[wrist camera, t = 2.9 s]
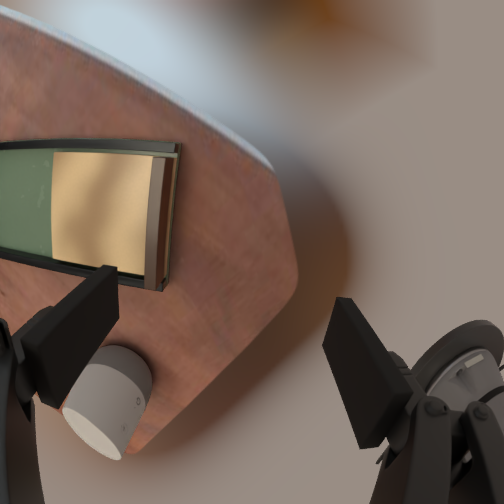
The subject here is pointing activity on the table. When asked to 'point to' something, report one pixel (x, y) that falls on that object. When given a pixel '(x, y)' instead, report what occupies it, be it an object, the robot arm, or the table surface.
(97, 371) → the smart speaker
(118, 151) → the rail base
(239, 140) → the table surface
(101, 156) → the carriage
